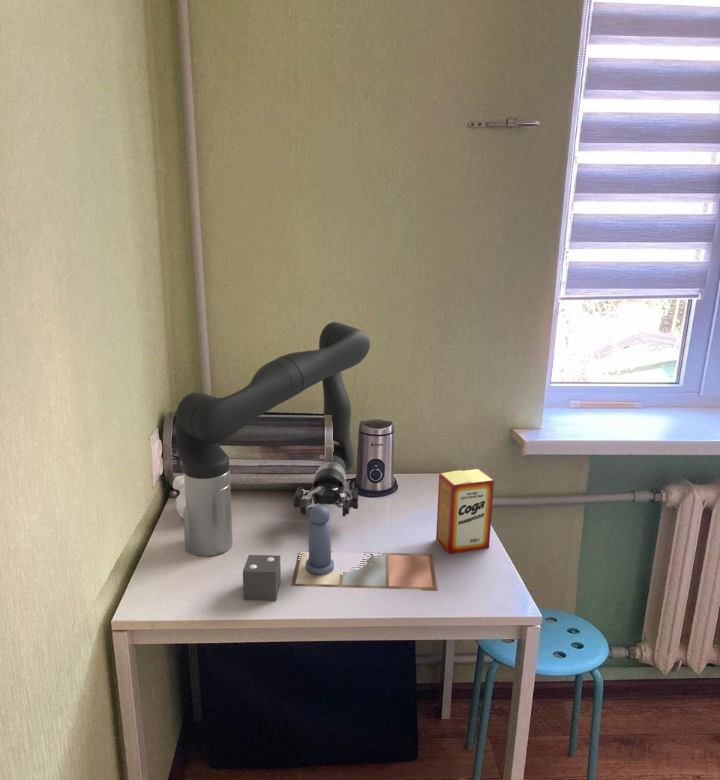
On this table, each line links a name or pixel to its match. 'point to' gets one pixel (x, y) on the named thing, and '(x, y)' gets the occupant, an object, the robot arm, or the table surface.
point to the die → (261, 577)
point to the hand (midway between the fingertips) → (324, 512)
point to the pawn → (319, 542)
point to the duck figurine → (181, 499)
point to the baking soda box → (464, 510)
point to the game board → (375, 573)
